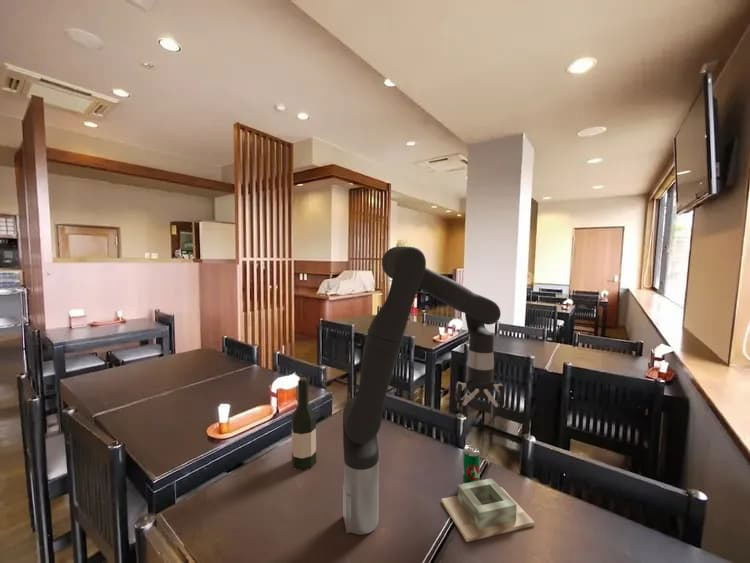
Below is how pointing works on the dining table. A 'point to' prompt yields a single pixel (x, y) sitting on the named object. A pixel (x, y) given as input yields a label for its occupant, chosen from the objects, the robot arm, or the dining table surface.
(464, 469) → the soda can
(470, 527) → the holder
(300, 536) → the dining table surface
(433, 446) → the dining table surface
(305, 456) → the wine bottle
